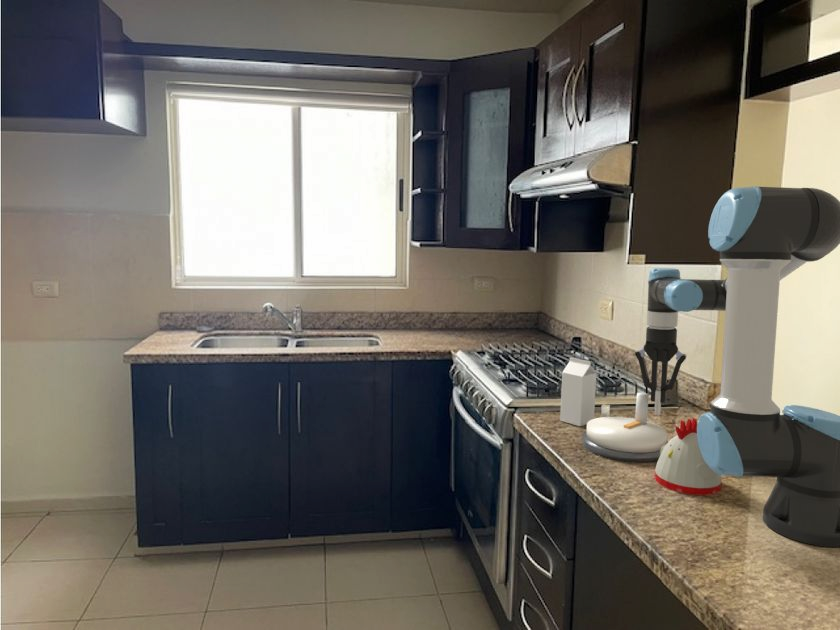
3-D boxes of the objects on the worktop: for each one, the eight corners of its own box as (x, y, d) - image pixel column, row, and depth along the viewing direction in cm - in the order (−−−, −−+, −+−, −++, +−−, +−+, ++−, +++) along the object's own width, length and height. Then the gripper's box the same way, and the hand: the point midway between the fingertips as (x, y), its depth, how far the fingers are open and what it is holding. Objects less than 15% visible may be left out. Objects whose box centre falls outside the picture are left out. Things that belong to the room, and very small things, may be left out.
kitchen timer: (641, 474, 144) (646, 412, 142) (688, 467, 149) (692, 407, 147) (685, 499, 131) (691, 431, 129) (735, 490, 136) (741, 425, 134)
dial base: (665, 469, 147) (668, 440, 146) (573, 453, 157) (575, 426, 156) (673, 438, 170) (675, 413, 169) (592, 426, 179) (593, 402, 178)
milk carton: (580, 427, 178) (583, 363, 176) (559, 421, 183) (562, 358, 181) (593, 422, 183) (597, 359, 180) (573, 416, 188) (576, 355, 186)
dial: (641, 458, 148) (644, 414, 146) (571, 437, 162) (573, 396, 161) (680, 441, 161) (683, 400, 159) (612, 422, 176) (614, 385, 174)
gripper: (689, 326, 162) (684, 412, 165) (638, 323, 168) (634, 406, 171) (687, 330, 155) (682, 420, 159) (634, 327, 161) (630, 414, 164)
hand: (657, 413), depth 165 cm, fingers closed
